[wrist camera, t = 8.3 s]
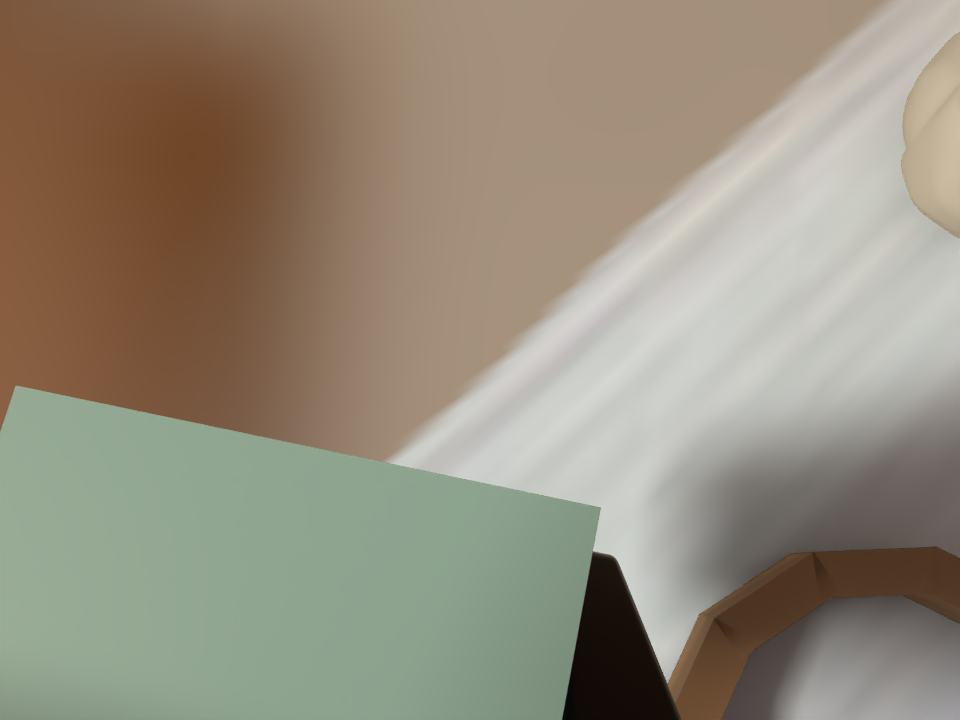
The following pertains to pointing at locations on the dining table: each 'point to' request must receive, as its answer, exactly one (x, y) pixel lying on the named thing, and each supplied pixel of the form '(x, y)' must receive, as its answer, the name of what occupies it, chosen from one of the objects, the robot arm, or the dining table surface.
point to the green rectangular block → (270, 578)
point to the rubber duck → (935, 139)
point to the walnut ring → (799, 612)
